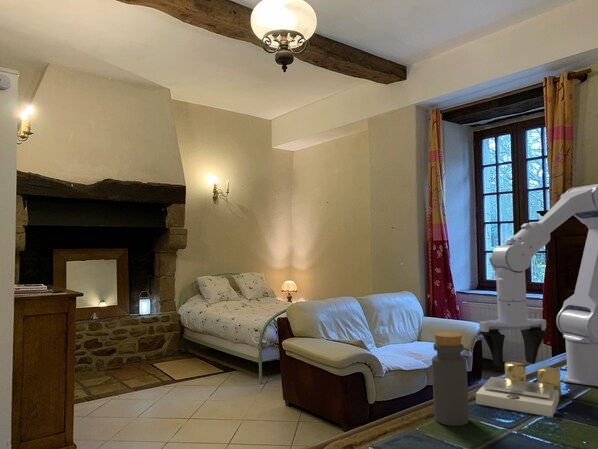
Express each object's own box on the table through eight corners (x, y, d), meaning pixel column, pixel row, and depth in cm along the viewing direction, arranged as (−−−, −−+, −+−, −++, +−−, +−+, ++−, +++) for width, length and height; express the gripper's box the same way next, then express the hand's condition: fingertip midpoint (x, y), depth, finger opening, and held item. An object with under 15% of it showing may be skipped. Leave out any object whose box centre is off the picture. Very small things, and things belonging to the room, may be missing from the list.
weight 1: (507, 384, 99) (506, 361, 99) (528, 387, 97) (526, 363, 97) (503, 388, 96) (502, 365, 96) (524, 392, 94) (523, 367, 94)
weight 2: (540, 390, 95) (539, 366, 95) (562, 393, 92) (560, 368, 92) (537, 395, 91) (536, 370, 92) (560, 398, 89) (558, 373, 89)
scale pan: (491, 379, 95) (491, 376, 95) (554, 388, 88) (554, 385, 88) (483, 388, 89) (483, 385, 89) (549, 398, 83) (549, 395, 83)
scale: (488, 389, 95) (488, 379, 95) (559, 400, 88) (558, 389, 88) (476, 403, 87) (475, 392, 87) (552, 417, 80) (551, 404, 80)
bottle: (468, 415, 81) (464, 331, 82) (469, 427, 76) (465, 338, 77) (434, 412, 83) (431, 330, 84) (433, 424, 78) (430, 336, 79)
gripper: (529, 297, 102) (532, 357, 102) (470, 299, 100) (473, 361, 99) (551, 300, 95) (555, 365, 95) (488, 303, 93) (491, 369, 92)
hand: (514, 363), depth 97 cm, fingers open, 7 cm apart
